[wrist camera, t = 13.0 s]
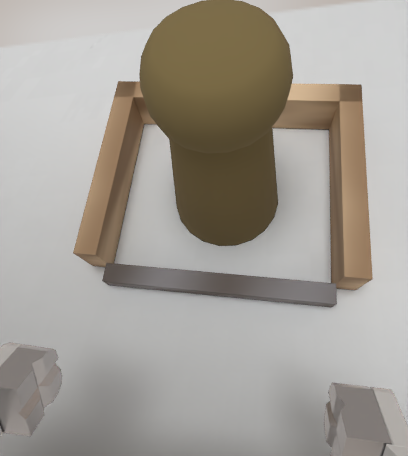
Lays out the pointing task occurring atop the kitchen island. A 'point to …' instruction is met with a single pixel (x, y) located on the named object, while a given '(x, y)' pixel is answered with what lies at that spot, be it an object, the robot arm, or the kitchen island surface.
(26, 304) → the kitchen island surface
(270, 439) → the kitchen island surface
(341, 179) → the bay
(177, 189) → the cork
